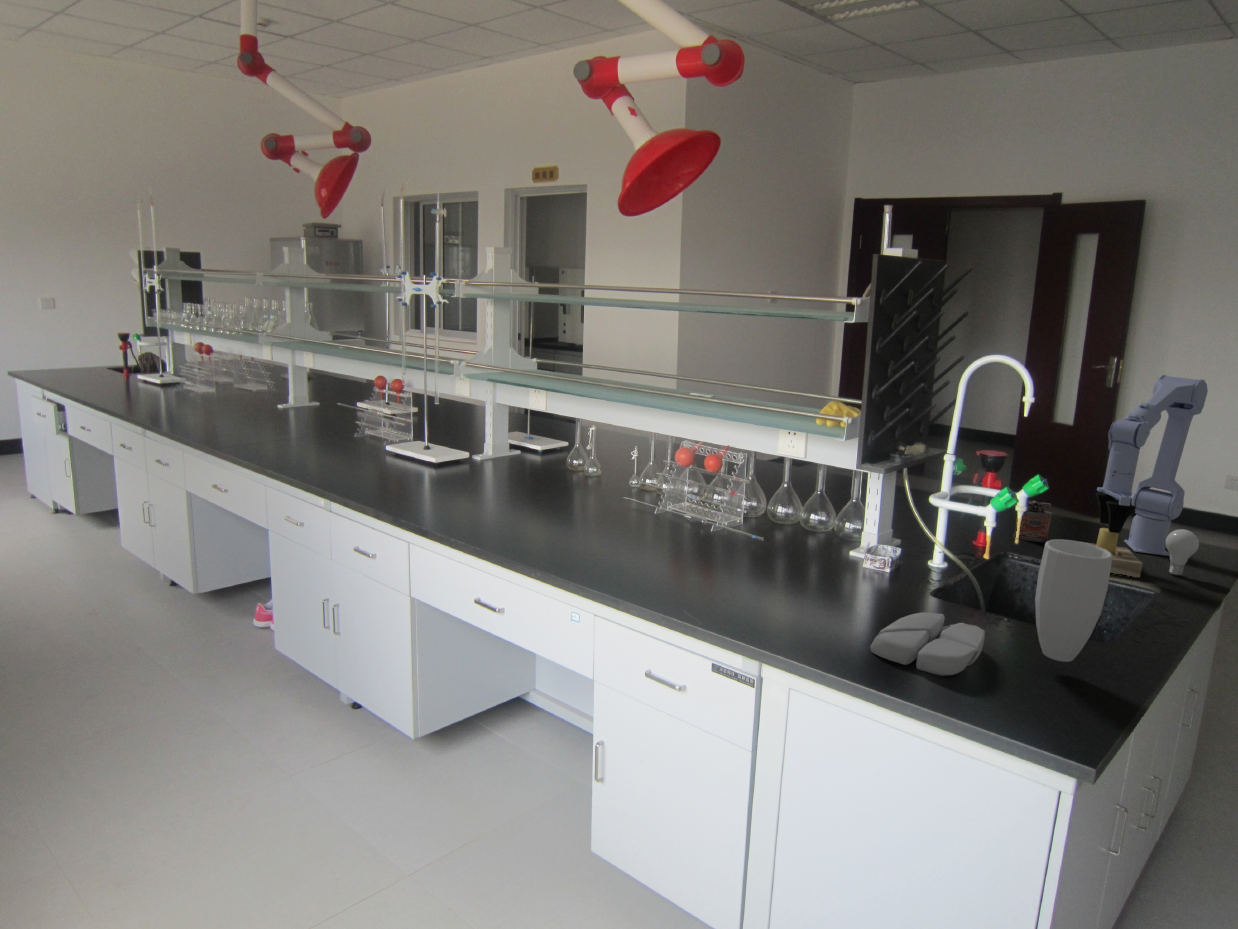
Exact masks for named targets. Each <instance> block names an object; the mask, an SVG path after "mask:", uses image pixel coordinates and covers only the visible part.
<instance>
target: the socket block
mask: <svg viewBox="0 0 1238 929" xmlns="http://www.w3.org/2000/svg"><path fill="white" fill-rule="evenodd" d="M1082 542H1083V543H1086V541H1085V542H1084V541H1082ZM1087 543H1088V544H1091V545H1095V546H1096V544H1097V543H1094V542H1093V543H1091V542H1087ZM1143 564H1144V563H1143V562H1142V561H1141V560H1140V558H1138V557H1137V556H1136V555H1134V553H1133V552H1132V551H1131V550H1130V549H1129V548H1128V547H1123V546H1116V550H1115V554H1114V555H1112V563H1111V570H1110V573H1114V574H1113V575H1115V574H1123V575H1127V576H1126V577H1130V576H1132V578H1137V577H1138V578H1139V579H1140V578H1141V574H1142V569H1143Z"/></svg>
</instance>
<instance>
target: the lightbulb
mask: <svg viewBox="0 0 1238 929" xmlns="http://www.w3.org/2000/svg"><path fill="white" fill-rule="evenodd" d="M1199 546H1200V540H1199V538H1198V537H1197V535H1196V534H1195V533H1194V532H1192V531H1191V530H1188V529H1183V528H1181V529H1179V528H1178V529H1174V530H1173V531H1171V532H1170V533H1168V536H1167V538H1166V546H1165V548H1166V549H1167V552H1168V553H1169V554H1170V556H1169V561H1170V564H1169V569H1168V572H1169V573H1170V575H1172V576H1176V577H1178V576H1181V575H1183V573H1184V567H1185V565H1186V564H1187V563H1188V560H1189V559H1190V557H1191V556H1193V555H1194V554H1196V552H1197V551H1198V549H1199Z"/></svg>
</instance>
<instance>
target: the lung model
mask: <svg viewBox="0 0 1238 929" xmlns="http://www.w3.org/2000/svg"><path fill="white" fill-rule="evenodd" d="M945 619H946V617H945V615H944V614H943V613H934V612H927V611H926V612H924V611H923V612H917V613H913V614H909V615H906V616H904V617H900V618H898V619H896V620H895V621H894V622H892V623H890V624H889V625H887V626H886V627H884V628H882V629H881V630H880V631H879V632H878V633H877V635H876V636H875V637H874V638H873V640H872V643H871V645H870V646H869V648H870V652H871V653H873V654H874V655H877V656H878V657H879V658H880V657H881V658H883V659H886V660H888V661H891V662H894V663H898V664H901V665H904V666H908V665H909V664H911V663H913V662H914V661H915V660H916V661H915V662H916V663H915V666H916V669H917V670H919V671H923V672H925V673H926V672H927V673H928V674H929V673H930V674H933V675H936V676H953V675H957V674H959V673H961V672H962V671H964V670H965V669H966V667H970V666H971V665H973V664H974V663H975V662H976V660H977V659H978V658H979V657H980V655H981V653H982V650H983V646H984V644H985V636H986V635H985V634H986V631H985V630H984V629H982V628H981V627H979V626H977V625H974V624H967V623H964V622H957V623H953V624H949V625H946V626H945V625H944V622H945ZM938 635H939V637H938ZM937 637H938V638H937Z"/></svg>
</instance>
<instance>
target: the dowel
mask: <svg viewBox="0 0 1238 929" xmlns="http://www.w3.org/2000/svg"><path fill="white" fill-rule="evenodd" d="M1119 535H1120V533H1113V532H1109V527H1107V528H1106V527H1100V528H1099V531H1098V536H1097V540H1096V543H1095V544H1096V546H1098V547H1101V548H1103V549H1106V550H1107V551H1109V552H1110V553H1111V554H1112V555H1114V554H1115V550H1116V547H1117V544H1118V540H1119Z"/></svg>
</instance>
